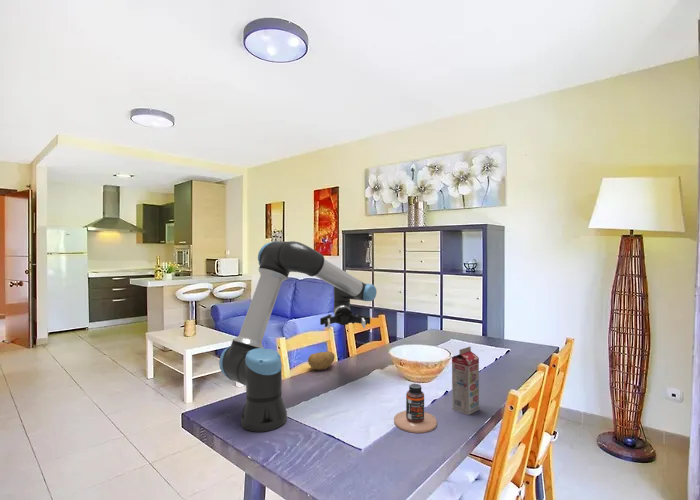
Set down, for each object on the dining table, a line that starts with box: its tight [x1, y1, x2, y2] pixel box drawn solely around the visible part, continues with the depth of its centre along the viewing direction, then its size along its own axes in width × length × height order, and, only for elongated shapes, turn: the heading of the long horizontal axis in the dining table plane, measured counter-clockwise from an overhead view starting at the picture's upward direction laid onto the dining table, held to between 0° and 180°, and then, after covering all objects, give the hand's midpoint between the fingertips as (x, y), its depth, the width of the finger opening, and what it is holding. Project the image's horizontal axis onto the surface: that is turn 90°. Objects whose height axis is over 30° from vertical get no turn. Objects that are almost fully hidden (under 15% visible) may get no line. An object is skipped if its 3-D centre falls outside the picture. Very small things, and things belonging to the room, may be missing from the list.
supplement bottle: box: [405, 383, 425, 423], centre depth 126 cm, size 6×6×11 cm
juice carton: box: [451, 346, 480, 416], centre depth 135 cm, size 7×7×22 cm
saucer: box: [393, 410, 438, 434], centre depth 126 cm, size 14×14×1 cm
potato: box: [307, 351, 336, 371], centre depth 181 cm, size 10×14×8 cm
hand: (346, 324), depth 145 cm, fingers open, 13 cm apart
